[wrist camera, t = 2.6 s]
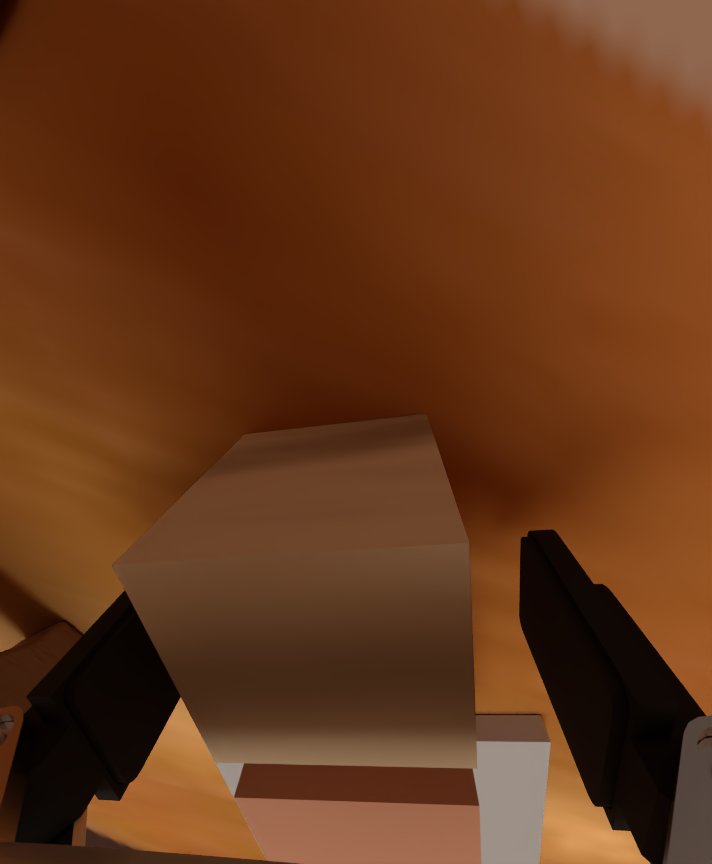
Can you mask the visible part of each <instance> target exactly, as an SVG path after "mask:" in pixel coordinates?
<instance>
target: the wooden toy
mask: <svg viewBox="0 0 712 864" xmlns="http://www.w3.org/2000/svg"><path fill="white" fill-rule="evenodd" d="M81 637H82V635H81V634H79V633H78V632H77V631H76V630H75V629H74V628H72V627H71V626H70V625H69V624H68V623H66V622H63V621H62V622H59V623H56V624H54V625H52V626H50V627H48V628H46V629H44V630H42V631H40V632H38V633H36V634H34V635H32V636H30V637H28V638H26V639H24V640H22V641H21V642H19V643H18V644H16V645H15V646H14V647H12V648H11V649H8V650H5V651H2V652H0V708H4V707H8V706H17V707H20V708H21V709H22V710H23V712H24V713H26V712H27V710H28V709H29V708H30V707H31V706H32V704H31V703H30V702H29V700H28V699H27V697H26V696H27V695H28V694H29V693H30V692H31V691H32V690H33V688H34V687H35V686H36V685H37V684H38V683H39V682H40V681H41V680H42V679H43V678H44V677H45V676H46V675H47V673H48V672H49V671H50V670H51V669H52V668H53V667H54V666H55V665H56V664H57V663H58V662H59V661H60V660H61V658H62V657H63V656H64V655H65V654H66V653H67V652H68V651H69V650H70V649H71V648H72V647H73V646H74V645H75V643H76V642H77V641H78V640H79V639H80V638H81Z"/></svg>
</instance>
